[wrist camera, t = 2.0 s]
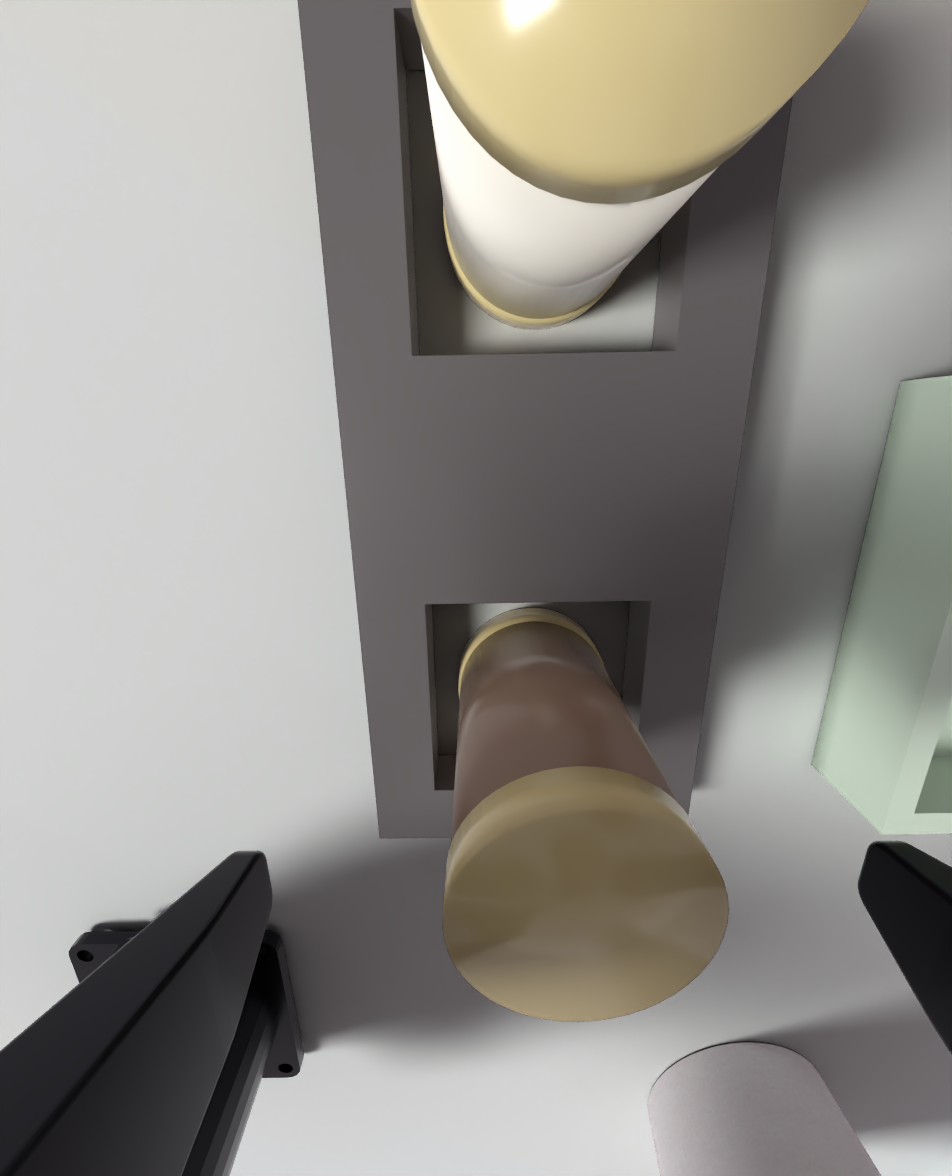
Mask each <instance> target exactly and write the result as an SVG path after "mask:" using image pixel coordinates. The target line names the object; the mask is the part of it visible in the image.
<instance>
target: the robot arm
mask: <svg viewBox="0 0 952 1176" xmlns="http://www.w3.org/2000/svg"><path fill="white" fill-rule="evenodd" d="M858 890H859V894H860V897H861V900H862V902H863V904H864V906H865V907H866V909H867V911H868V913H869V915H870V916H871V918H872V920H873V922H874V923H875V925H876V927H877V929H878V930H879V932H880V934H881V936H882V938H883V939H884V941H885V943H886V945H887V946H888V948H889V950H890V952H891V953H892V955H893V957H894V959H895V960H896V962H897V964H898V966H899V968H900V969H901V971H902V973H903V975H904V976H905V978H906V980H907V982H908V983H909V985H910V987H911V989H912V991H913V992H914V994H915V996H916V998H917V999H918V1001H919V1003H920V1005H921V1006H922V1008H923V1010H924V1011H925V1013H926V1015H927V1016H928V1018H929V1020H930V1021H931V1023H932V1025H933V1026H934V1028H935V1029H936V1031H937V1032H938V1034H939V1036H940V1037H941V1039H942V1040H943V1042H944V1043H945V1045H946V1047H947V1048H948V1050H949V1051H950V1053H951V1054H952V867H950V866H948V865H946V864H944V863H943V862H941V861H939V860H937V859H935V858H933V857H932V856H930V855H928V854H926V853H924V852H922V851H921V850H919V849H917V848H915V847H913V846H912V845H910V844H908V843H905V842H901V841H875V842H873V843H871V844H870V845H869V847H868V849H867V852H866V856H865V859H864V862H863V866H862V869H861V873H860V876H859V880H858ZM271 906H272V887H271V881H270V876H269V871H268V866H267V860H266V857H265V854H264V853H263V852H261V851H237V852H234V853H233V854H231V855H230V856H228V857H227V858H226V859H225V860H224V861H222V862H221V863H220V864H219V865H218V866H217V867H215V868H214V869H213V870H212V871H211V872H210V873H208V874H207V875H206V876H205V877H204V878H203V879H201V880H200V881H199V882H198V883H197V884H195V885H194V886H193V887H192V888H191V889H190V890H188V891H187V892H186V893H185V894H184V895H183V896H181V897H180V898H179V899H178V900H177V901H176V902H174V903H173V904H172V905H171V906H170V907H168V908H167V909H166V910H165V911H164V912H163V913H161V914H160V915H159V916H158V917H157V918H156V919H154V920H153V921H152V922H151V923H150V924H149V925H147V926H146V927H145V928H144V929H143V930H142V931H105V932H86V933H84V934H82V935H81V936H80V937H79V938H78V939H77V941H76V942H75V943H74V945H73V946H72V947H71V949H70V950H69V957H70V959H71V962H72V965H73V967H74V970H75V973H76V975H77V978H78V980H79V984H78V985H77V986H76V987H75V988H74V989H72V990H71V991H70V992H69V993H68V994H66V995H65V996H64V997H63V998H62V999H61V1000H59V1001H58V1002H57V1003H56V1004H55V1005H54V1006H52V1007H51V1008H50V1009H49V1010H48V1011H47V1012H45V1013H44V1014H43V1015H42V1016H41V1017H39V1018H38V1019H37V1020H36V1021H35V1022H34V1023H32V1024H31V1025H30V1026H29V1027H28V1028H27V1029H25V1030H24V1031H23V1032H22V1033H21V1034H20V1035H18V1036H17V1037H16V1038H15V1039H14V1040H13V1041H11V1042H10V1043H9V1044H8V1045H7V1046H5V1047H4V1048H3V1049H2V1050H1V1051H0V1176H229V1175H230V1172H231V1169H232V1166H233V1163H234V1160H235V1157H236V1154H237V1151H238V1148H239V1145H240V1142H241V1139H242V1136H243V1133H244V1130H245V1127H246V1124H247V1121H248V1118H249V1115H250V1112H251V1109H252V1105H253V1102H254V1099H255V1096H256V1093H257V1090H258V1087H259V1084H260V1081H261V1078H286V1077H293V1076H295V1075H297V1074H298V1073H299V1072H300V1068H301V1065H302V1061H303V1057H304V1052H303V1047H302V1042H301V1036H300V1031H299V1026H298V1021H297V1016H296V1010H295V1005H294V1000H293V995H292V989H291V984H290V979H289V974H288V968H287V963H286V958H285V953H284V948H283V942H282V939H281V937H280V936H279V935H278V934H277V933H276V932H273V931H271V930H265V928H266V925H267V921H268V918H269V914H270V911H271Z"/></svg>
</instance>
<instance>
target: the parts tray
mask: <svg viewBox="0 0 952 1176" xmlns="http://www.w3.org/2000/svg"><path fill="white" fill-rule="evenodd" d="M812 766H813V767H814V768H815V769H816V770H817V771H818V772H819V773H820V774H821V775H822V776H823V777H824V778H825V779H826V780H827V781H828V782H829V783H830V784H831V785H832V786H833V787H834V788H835V789H836V790H837V791H838V792H839V793H840V794H841V795H842V796H843V797H844V798H845V799H846V800H847V801H848V802H849V803H850V804H851V805H852V806H853V807H854V808H855V809H856V810H857V811H858V812H859V813H860V814H861V815H862V816H863V817H864V818H865V819H866V820H867V821H868V822H869V823H870V824H871V825H872V826H873V827H874V828H875V829H876V830H877V831H878V832H879V833H880V834H881V835H900V834H952V375H951V376H942V377H933V378H924V379H915V380H907V381H900V385H899V390H898V394H897V398H896V403H895V407H894V411H893V415H892V420H891V424H890V428H889V433H888V437H887V441H886V446H885V450H884V454H883V459H882V463H881V467H880V471H879V476H878V480H877V484H876V489H875V493H874V497H873V502H872V506H871V510H870V515H869V519H868V523H867V528H866V532H865V536H864V540H863V545H862V549H861V553H860V558H859V562H858V566H857V571H856V575H855V579H854V584H853V588H852V592H851V596H850V601H849V605H848V609H847V614H846V618H845V622H844V627H843V631H842V635H841V640H840V644H839V648H838V652H837V657H836V661H835V665H834V670H833V674H832V678H831V683H830V687H829V691H828V696H827V700H826V704H825V709H824V713H823V717H822V721H821V726H820V730H819V734H818V739H817V743H816V747H815V752H814V756H813V760H812Z"/></svg>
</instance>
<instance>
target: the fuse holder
mask: <svg viewBox="0 0 952 1176" xmlns="http://www.w3.org/2000/svg"><path fill="white" fill-rule="evenodd" d="M298 9H299V19H300V29H301V39H302V50H303V60H304V70H305V80H306V90H307V101H308V111H309V121H310V131H311V141H312V152H313V162H314V172H315V182H316V193H317V203H318V213H319V223H320V233H321V244H322V254H323V264H324V274H325V284H326V295H327V305H328V315H329V325H330V335H331V346H332V356H333V366H334V376H335V386H336V397H337V407H338V417H339V427H340V437H341V448H342V458H343V468H344V478H345V488H346V499H347V509H348V519H349V529H350V539H351V550H352V560H353V570H354V580H355V590H356V601H357V611H358V621H359V631H360V641H361V652H362V662H363V672H364V682H365V692H366V703H367V713H368V723H369V733H370V743H371V754H372V764H373V774H374V784H375V794H376V805H377V815H378V825H379V835H380V838H449V837H452V820H453V803H454V786H455V769H456V755H438V734H437V713H436V692H435V671H434V651H433V630H432V609H431V604H470V603H531V602H593V601H630V612H629V623H628V635H627V647H626V658H625V670H624V682H623V694H622V701H623V703H624V705H625V706H626V708H627V710H628V712H629V714H630V716H631V718H632V719H633V721H634V723H635V725H636V727H637V729H638V731H639V732H640V734H641V736H642V738H643V740H644V742H645V744H646V745H647V747H648V749H649V751H650V753H651V755H652V756H653V758H654V760H655V762H656V764H657V766H658V768H659V769H660V771H661V773H662V775H663V777H664V779H665V781H666V782H667V784H668V786H669V788H670V790H671V792H672V793H673V795H674V797H675V799H676V801H677V803H678V804H679V805H680V806H681V807H682V808H683V809H684V811H685V812H686V814H687V815H688V814H689V807H690V800H691V793H692V786H693V779H694V772H695V765H696V759H697V752H698V745H699V738H700V731H701V724H702V717H703V710H704V703H705V696H706V690H707V683H708V676H709V669H710V662H711V655H712V648H713V641H714V634H715V627H716V621H717V614H718V607H719V600H720V593H721V586H722V579H723V572H724V565H725V558H726V552H727V545H728V538H729V531H730V524H731V517H732V510H733V503H734V496H735V489H736V483H737V476H738V469H739V462H740V455H741V448H742V441H743V434H744V427H745V420H746V414H747V407H748V400H749V393H750V386H751V379H752V372H753V365H754V358H755V351H756V344H757V338H758V331H759V324H760V317H761V310H762V303H763V296H764V289H765V282H766V275H767V269H768V262H769V255H770V248H771V241H772V234H773V227H774V220H775V213H776V206H777V200H778V193H779V186H780V179H781V172H782V165H783V158H784V151H785V144H786V137H787V131H788V124H789V117H790V110H791V103H792V97H791V98H790V99H789V100H788V101H787V102H786V103H785V104H784V105H783V106H782V107H781V108H780V109H779V110H778V112H777V113H776V114H775V115H774V116H773V117H772V118H771V119H770V120H769V121H768V122H767V123H766V124H765V125H764V126H763V127H762V128H761V129H760V130H759V131H758V132H757V133H756V134H755V135H754V136H753V137H752V138H751V139H750V140H749V141H748V142H747V143H746V144H745V145H744V146H743V147H742V148H741V149H740V150H739V151H738V152H737V153H735V154H734V155H733V156H731V157H730V158H729V159H727V160H726V161H725V162H723V163H722V164H721V165H720V166H719V167H718V168H717V169H716V170H715V171H714V172H713V173H712V174H711V175H710V176H709V177H708V178H707V180H706V181H705V182H704V183H703V184H702V185H701V186H700V187H699V188H698V189H697V190H696V191H695V193H694V194H693V195H692V196H691V197H690V198H689V199H688V200H687V201H686V202H685V203H684V204H683V206H682V207H681V208H680V209H679V210H678V211H677V212H676V213H675V214H674V215H673V216H672V217H671V218H670V220H669V221H668V222H667V223H666V224H665V225H664V226H663V227H662V237H661V248H660V260H659V272H658V283H657V295H656V307H655V319H654V330H653V342H652V351H646V352H592V353H538V354H484V355H430V356H419V339H418V318H417V297H416V276H415V255H414V235H413V214H412V193H411V172H410V151H409V131H408V110H407V89H406V70H425V67H424V60H423V52H422V45H421V40H420V37H419V34H418V30H417V27H416V24H415V20H414V17H413V12H412V7H411V2H410V0H298Z"/></svg>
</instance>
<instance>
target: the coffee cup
mask: <svg viewBox="0 0 952 1176" xmlns="http://www.w3.org/2000/svg"><path fill="white" fill-rule="evenodd" d="M648 1113H649V1119H650V1124H651V1130H652V1135H653V1140H654V1145H655V1151H656V1156H657V1161H658V1167H659V1172H660V1176H881V1174H880V1173H879V1171H878V1170H877V1168H876V1166H875V1165H874V1163H873V1161H872V1160H871V1158H870V1156H869V1155H868V1153H867V1151H866V1150H865V1148H864V1147H863V1145H862V1143H861V1142H860V1140H859V1138H858V1137H857V1135H856V1133H855V1132H854V1130H853V1129H852V1127H851V1125H850V1124H849V1122H848V1120H847V1119H846V1117H845V1115H844V1114H843V1112H842V1110H841V1109H840V1107H839V1106H838V1104H837V1102H836V1101H835V1099H834V1097H833V1096H832V1094H831V1092H830V1091H829V1089H828V1088H827V1086H826V1084H825V1083H824V1081H823V1079H822V1078H821V1076H820V1075H819V1073H818V1071H817V1070H816V1068H815V1067H814V1066H813V1065H812V1064H811V1063H810V1062H809V1061H808V1060H807V1059H805V1058H804V1057H803V1056H801V1055H799V1054H798V1053H796V1052H794V1051H791V1050H789V1049H786V1048H783V1047H780V1046H776V1045H771V1044H765V1043H748V1042H747V1043H732V1044H725V1045H720V1046H715V1047H711V1048H708V1049H705V1050H702V1051H699V1052H696V1053H694V1054H692V1055H690V1056H688V1057H686V1058H684V1059H682V1060H680V1061H679V1062H677V1063H675V1064H674V1065H673V1066H671V1067H670V1068H669V1069H668V1070H666V1071H665V1072H664V1073H663V1074H662V1075H661V1076H660V1078H659V1079H658V1080H657V1081H656V1083H655V1084H654V1086H653V1088H652V1090H651V1092H650V1095H649V1099H648Z"/></svg>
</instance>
